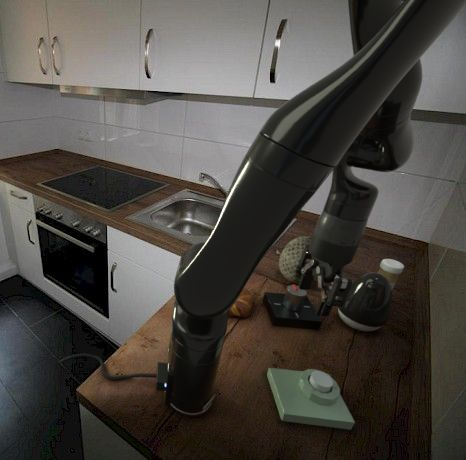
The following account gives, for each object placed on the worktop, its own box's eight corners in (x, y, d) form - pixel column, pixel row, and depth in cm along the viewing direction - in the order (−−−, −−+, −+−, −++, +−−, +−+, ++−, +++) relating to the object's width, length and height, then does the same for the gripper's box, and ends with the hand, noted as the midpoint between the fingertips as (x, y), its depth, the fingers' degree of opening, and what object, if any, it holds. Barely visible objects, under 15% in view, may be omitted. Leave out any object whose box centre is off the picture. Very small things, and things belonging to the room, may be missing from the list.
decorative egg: (277, 265, 104) (289, 225, 97) (318, 277, 98) (333, 235, 91) (271, 284, 95) (284, 241, 88) (316, 297, 89) (332, 252, 82)
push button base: (281, 421, 58) (286, 407, 56) (266, 374, 67) (270, 361, 65) (351, 430, 57) (359, 416, 55) (326, 381, 65) (332, 368, 64)
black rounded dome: (327, 323, 80) (347, 274, 73) (339, 304, 87) (358, 257, 80) (376, 345, 74) (403, 294, 67) (384, 323, 80) (409, 274, 73)
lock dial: (304, 311, 80) (310, 295, 77) (286, 310, 80) (291, 294, 78) (297, 300, 84) (302, 284, 81) (280, 299, 84) (285, 283, 81)
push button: (313, 391, 59) (316, 385, 59) (306, 375, 63) (308, 369, 62) (333, 394, 59) (336, 388, 58) (325, 377, 62) (327, 371, 61)
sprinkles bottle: (362, 296, 90) (380, 256, 84) (381, 300, 88) (401, 260, 82) (366, 306, 86) (385, 265, 80) (386, 310, 85) (407, 269, 78)
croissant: (227, 286, 94) (229, 276, 92) (262, 304, 87) (265, 294, 85) (204, 304, 87) (205, 293, 85) (240, 326, 79) (243, 314, 78)
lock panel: (272, 326, 79) (275, 316, 78) (262, 300, 88) (264, 291, 87) (319, 330, 78) (322, 321, 77) (303, 303, 87) (307, 294, 85)
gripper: (382, 255, 53) (348, 326, 61) (338, 219, 66) (314, 282, 73) (335, 253, 54) (307, 323, 61) (301, 217, 66) (281, 280, 74)
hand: (311, 301), depth 67 cm, fingers open, 8 cm apart
